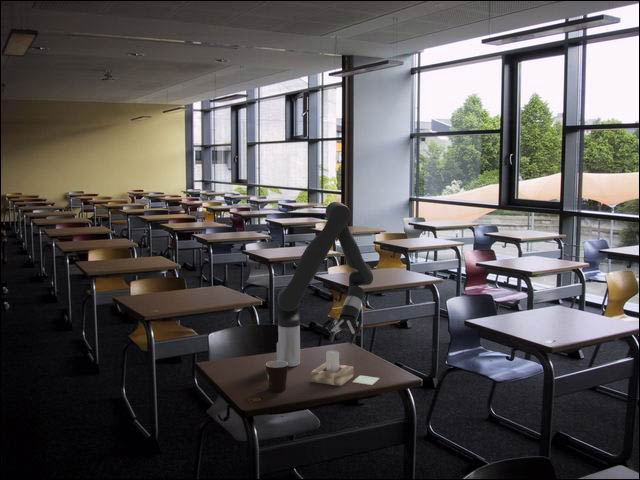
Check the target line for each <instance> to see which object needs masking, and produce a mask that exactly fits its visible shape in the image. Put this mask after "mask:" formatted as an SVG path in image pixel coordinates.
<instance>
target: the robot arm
mask: <svg viewBox="0 0 640 480" xmlns="http://www.w3.org/2000/svg"><path fill="white" fill-rule="evenodd" d="M324 214H325V217H326V219H327V220H326V222H325V223H324V226H323V228H322V230H321V231H320V232H319V233H318V235H316V237H314V238H313V239H312V240H311V241H310V242H309V243H308V244H307V246H306V247H305V249H304V251H303V252H302V255H301V257H299V258H300V259H299V261H298V262H297V265H296V267H295V268H296V269H295V271H294V274H293V276H292V278H291V280H290V281H289V283H288V284H287V286H285V287H282V289H281V290H279V292H278V294H277V323H278V324H277V325H278V327H277V328H278V329H277V331H278V341H277V342H276V361H285V362H287V363H288V368H290V367H292V368H293V367H297V366H299V365H300V364H301V335H300V334H301V331H300V329H301V328H300V327H301V326H300V325H301V324H300V321H301V320H300V319H301V318H300V303H301V300H302V298H303V295H304V294H305V292H306V290H307V288H308V286H309V285H310V283H311V281H313V279H314V277H315V276H316V275H317V272H318V271H319V269H320V268H321V266H322V265H323V263H324V261H326V258H327V256H328V254H329V252H330V250H331V249H332V247H333V245H334V244H335V241H336V240H337V239H338V241H339V245H340V247H341V250H342V252H343V256H344V258H345V261H346V263H347V266H348V267H349V268H351V269H355V270H353V271H351V272H350V274H349V275H348V291H347V295H346V297H345V300H344V302H343V305H342V308H341V311H340V313H339V318H338V319H335V318H334V317H332V318H330V319H331V320H330V322H329V323H328V326H327V331H328V332H329V333H330V334H329V337H328V339H329V341H330V342H331V343H333V342H334V340H335V338H336V334H337V333H339V332H340V331H343V332H344V331H346V332H350V331H351V334H350V335H349V337H350V338H349V340H348V343H349V345H353V343H355V339H356V337H361V336H362V332H363V327H364V326H363V325H364V323H363V322H362V320H359V321H358V318H359V316H360V312H361V309H362V304H363V300H364V298H365V290H364V289H363V288H362V286H370V285H372V283H373V282H374V273H373V272H372V270H371V268H370V267H369V265H368V264H367V263H366V261H365V260H364V258H363V256H362V253H361V250H360V247H359V246H358V243H357V241H356V240H355V238H354V236H353V234H352V233H351V230H350V227H349V225H348V223H349V221H350V219H351V216H352V215H351V210H350V208H349V207H348V206H347V205H345V203H342V202H339V201H332V202H330V203H328V204H327V206H326V208H325V213H324ZM356 326H357V328H356V331H355V329H354V328H355V327H356Z"/></svg>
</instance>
